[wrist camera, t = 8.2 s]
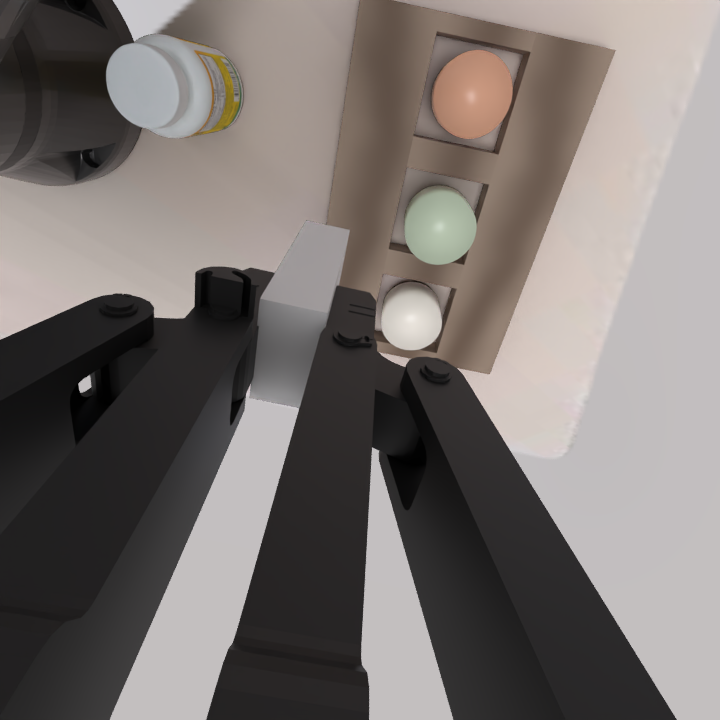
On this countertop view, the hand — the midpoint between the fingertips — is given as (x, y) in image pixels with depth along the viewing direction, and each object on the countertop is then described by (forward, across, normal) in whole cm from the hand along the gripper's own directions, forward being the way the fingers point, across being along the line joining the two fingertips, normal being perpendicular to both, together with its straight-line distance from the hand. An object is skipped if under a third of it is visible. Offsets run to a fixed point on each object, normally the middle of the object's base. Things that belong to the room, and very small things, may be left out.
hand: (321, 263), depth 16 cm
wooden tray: (+22, +7, -2) cm, 23 cm away
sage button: (+19, +7, -2) cm, 20 cm away
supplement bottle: (+22, -12, +2) cm, 25 cm away
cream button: (+21, +7, -10) cm, 24 cm away
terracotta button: (+21, +6, +6) cm, 23 cm away
